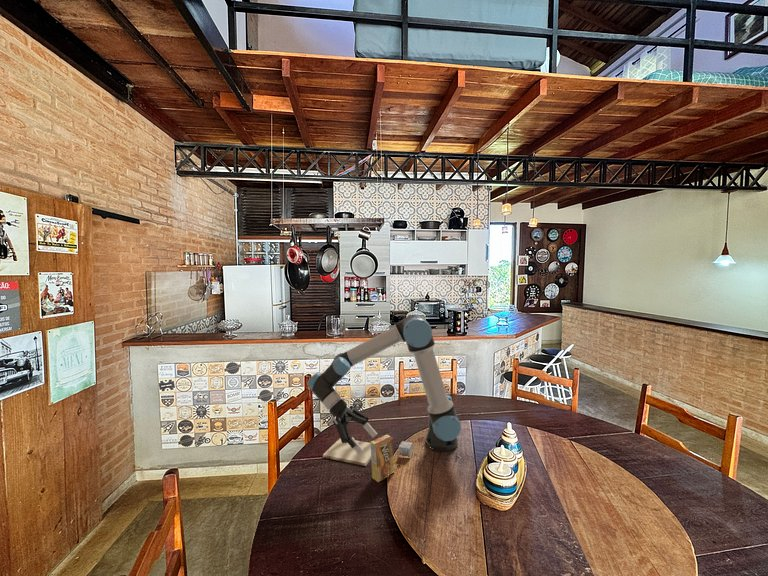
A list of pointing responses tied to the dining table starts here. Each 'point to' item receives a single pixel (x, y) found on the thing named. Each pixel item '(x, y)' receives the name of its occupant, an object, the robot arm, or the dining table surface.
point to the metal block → (405, 448)
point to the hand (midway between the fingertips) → (368, 443)
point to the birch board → (349, 453)
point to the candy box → (382, 457)
